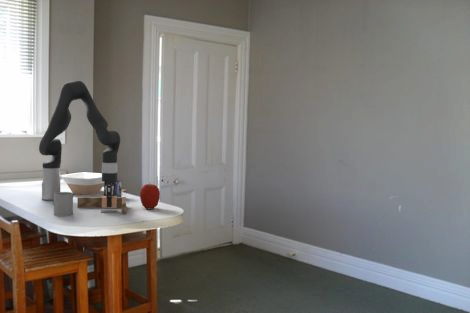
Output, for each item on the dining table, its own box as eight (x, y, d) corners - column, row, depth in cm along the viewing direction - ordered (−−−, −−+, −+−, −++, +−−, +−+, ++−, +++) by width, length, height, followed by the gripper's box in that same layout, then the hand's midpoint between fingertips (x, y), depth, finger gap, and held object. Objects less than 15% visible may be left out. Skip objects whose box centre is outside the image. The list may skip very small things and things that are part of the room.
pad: (100, 212, 248) (100, 211, 248) (101, 210, 253) (101, 209, 253) (117, 212, 250) (117, 211, 250) (117, 210, 255) (117, 209, 255)
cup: (56, 212, 245) (56, 191, 245) (74, 212, 246) (74, 192, 245) (52, 216, 237) (52, 194, 236) (70, 216, 238) (70, 195, 237)
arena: (74, 214, 241) (74, 204, 241) (77, 206, 261) (77, 197, 261) (125, 214, 247) (126, 203, 246) (125, 206, 266) (125, 196, 266)
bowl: (56, 193, 299) (56, 175, 298) (83, 188, 322) (83, 171, 321) (89, 197, 290) (89, 178, 289) (114, 191, 313) (115, 174, 312)
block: (116, 207, 250) (116, 197, 250) (101, 207, 249) (101, 197, 248) (116, 206, 254) (116, 196, 254) (102, 206, 253) (102, 196, 252)
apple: (147, 211, 255) (147, 183, 254) (135, 208, 262) (136, 181, 260) (163, 209, 262) (164, 182, 261) (151, 206, 269) (152, 180, 268)
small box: (114, 200, 283) (114, 181, 282) (103, 199, 284) (103, 180, 284) (122, 197, 293) (122, 179, 293) (111, 196, 295) (111, 178, 294)
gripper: (117, 173, 244) (116, 208, 245) (117, 170, 258) (117, 203, 259) (101, 173, 242) (100, 209, 244) (102, 170, 256) (102, 203, 258)
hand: (109, 206), depth 251 cm, fingers closed on block, 4 cm apart
